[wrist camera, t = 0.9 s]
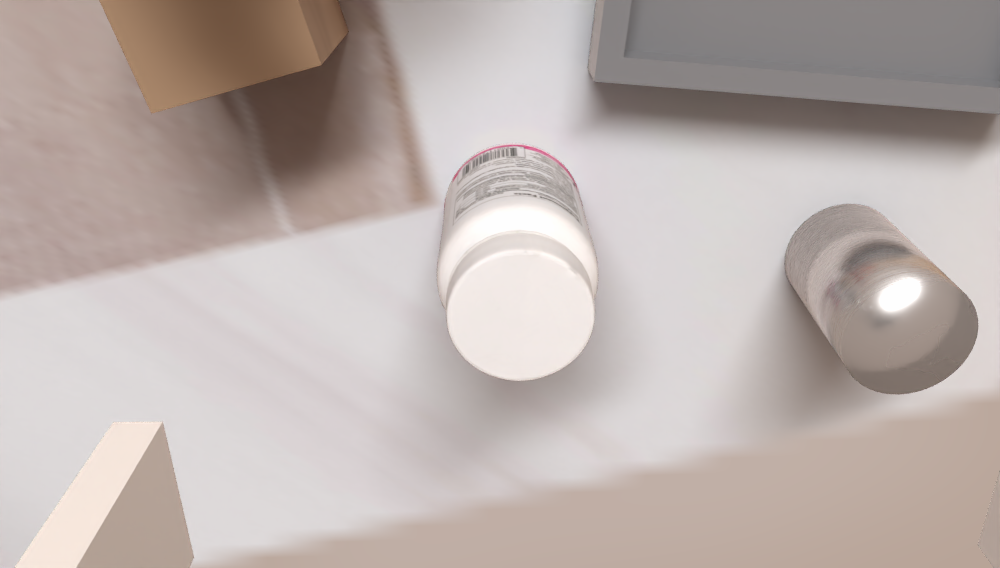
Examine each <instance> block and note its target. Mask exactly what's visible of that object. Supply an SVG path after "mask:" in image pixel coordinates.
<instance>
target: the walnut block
mask: <svg viewBox="0 0 1000 568" xmlns="http://www.w3.org/2000/svg"><path fill="white" fill-rule="evenodd" d="M99 1H100V3H101V5H102V7H103V9H104V11H105V14H106V16H107V18H108V20H109V22H110V24H111V27H112V29H113V31H114V33H115V35H116V37H117V40H118V42H119V44H120V46H121V48H122V50H123V53H124V55H125V57H126V59H127V61H128V63H129V66H130V68H131V70H132V72H133V74H134V76H135V79H136V81H137V83H138V85H139V87H140V89H141V92H142V94H143V96H144V98H145V100H146V102H147V105H148V107H149V109H150V111H151V113H155V112H159V111H162V110H166V109H169V108H173V107H176V106H180V105H183V104H187V103H190V102H194V101H197V100H201V99H204V98H208V97H211V96H215V95H218V94H222V93H225V92H229V91H232V90H236V89H239V88H243V87H247V86H250V85H254V84H257V83H261V82H264V81H268V80H271V79H275V78H278V77H282V76H285V75H289V74H292V73H296V72H299V71H303V70H306V69H310V68H313V67H317V66H320V65H322V64H323V63H324V62H325V60H326V59H327V58H328V57H329V55H330V54H331V53H332V52H333V50H334V49H335V48H336V47H337V45H338V44H339V43H340V42H341V41H342V39H343V38H344V37H345V36H346V34H347V33H348V32H349V31H348V28H347V25H346V22H345V19H344V17H343V14H342V11H341V8H340V5H339V2H338V0H99Z"/></svg>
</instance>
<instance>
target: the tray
mask: <svg viewBox="0 0 1000 568" xmlns="http://www.w3.org/2000/svg"><path fill="white" fill-rule="evenodd" d="M588 69H589V71H590V74H591V76H592V78H593V81H594V82H605V83H617V84H630V85H642V86H654V87H667V88H679V89H692V90H704V91H717V92H729V93H742V94H754V95H767V96H779V97H791V98H804V99H816V100H829V101H841V102H854V103H866V104H879V105H891V106H904V107H916V108H928V109H941V110H953V111H966V112H978V113H991V114H1000V0H596V5H595V13H594V21H593V29H592V37H591V45H590V53H589V61H588Z"/></svg>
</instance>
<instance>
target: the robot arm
mask: <svg viewBox="0 0 1000 568" xmlns="http://www.w3.org/2000/svg"><path fill="white" fill-rule="evenodd" d="M978 546H979V547H980V549H981V551H982V552H983V553H984V555H985V556H986V558H987V559H988V560H989V562H990V563H991V565H992V566H993V568H1000V471H999V475H998V479H997V482H996V485H995V488H994V492H993V495H992V498H991V502H990V505H989V509H988V512H987V515H986V519H985V522H984V526H983V529H982V532H981V536H980V539H979V542H978ZM193 558H194V555H193V551H192V547H191V542H190V538H189V534H188V529H187V525H186V520H185V516H184V512H183V507H182V503H181V499H180V494H179V490H178V486H177V481H176V477H175V473H174V468H173V464H172V460H171V455H170V451H169V447H168V442H167V438H166V434H165V429H164V425H163V422H113V423H112V425H111V426H110V428H109V429H108V431H107V432H106V434H105V435H104V437H103V438H102V439H101V441H100V442H99V444H98V445H97V447H96V448H95V450H94V451H93V453H92V454H91V456H90V457H89V459H88V460H87V462H86V463H85V465H84V466H83V467H82V469H81V470H80V472H79V473H78V475H77V476H76V478H75V479H74V481H73V482H72V484H71V485H70V487H69V488H68V490H67V491H66V492H65V494H64V495H63V497H62V498H61V500H60V501H59V503H58V504H57V506H56V507H55V509H54V510H53V512H52V513H51V515H50V516H49V518H48V519H47V520H46V522H45V523H44V525H43V526H42V528H41V529H40V531H39V532H38V534H37V535H36V537H35V538H34V540H33V541H32V543H31V544H30V545H29V547H28V548H27V550H26V551H25V553H24V554H23V556H22V557H21V559H20V560H19V562H18V563H17V565H16V566H15V568H189V567H190V565H191V563H192V561H193Z"/></svg>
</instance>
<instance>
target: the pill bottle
mask: <svg viewBox="0 0 1000 568" xmlns="http://www.w3.org/2000/svg"><path fill="white" fill-rule="evenodd" d="M437 286H438V291H439V296H440V299H441V301H442V304H443V307H444V309H445V310H446V321H447V327H448V332H449V335H450V338H451V340H452V342H453V344H454V346H455V347H456V349H457V350H458V352H459V353H460V354H461V356H462V357H463V358H464V359H465V360H466V361H467V362H468V363H470V364H471V365H472V366H474V367H475V368H477V369H478V370H480V371H482V372H483V373H486V374H488V375H491V376H493V377H497V378H500V379H504V380H512V381H526V380H534V379H539V378H542V377H546V376H548V375H551V374H553V373H555V372H557V371H559V370H561V369H563V368H564V367H566V366H567V365H569V364H570V363H571V362H572V361H573V360H574V359H575V358H576V357H577V356H578V355H579V354H580V353H581V352H582V350H583V349H584V348H585V346H586V344H587V343H588V341H589V338H590V336H591V333H592V330H593V327H594V321H595V305H594V299H595V296H596V292H597V287H598V263H597V257H596V253H595V249H594V245H593V242H592V238H591V235H590V231H589V228H588V224H587V221H586V217H585V213H584V210H583V205H582V202H581V198H580V195H579V191H578V188H577V185H576V183H575V181H574V179H573V177H572V175H571V174H570V172H569V171H568V169H567V168H566V167H565V166H564V165H563V164H562V163H561V162H560V161H559V160H558V159H557V158H555V157H554V156H552V155H551V154H549V153H548V152H546V151H544V150H542V149H540V148H537V147H534V146H531V145H527V144H521V143H505V144H499V145H495V146H491V147H488V148H486V149H484V150H482V151H480V152H478V153H476V154H474V155H473V156H472V157H470V158H469V159H468V160H467V161H466V162H465V163H464V164H463V165H462V166H461V167H460V168H459V170H458V171H457V172H456V174H455V175H454V177H453V179H452V181H451V183H450V185H449V188H448V191H447V195H446V199H445V205H444V220H443V229H442V236H441V243H440V249H439V256H438V263H437Z"/></svg>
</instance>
